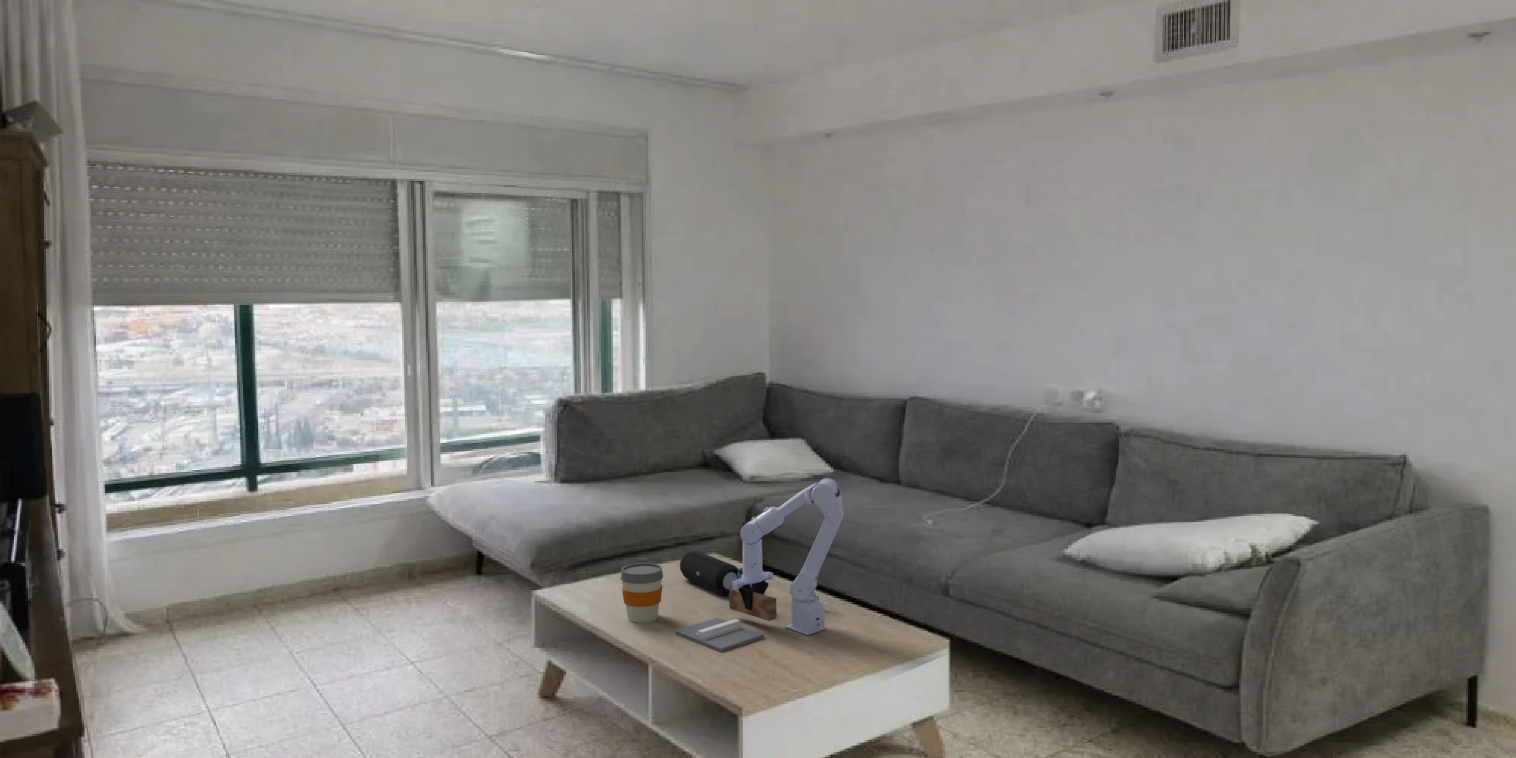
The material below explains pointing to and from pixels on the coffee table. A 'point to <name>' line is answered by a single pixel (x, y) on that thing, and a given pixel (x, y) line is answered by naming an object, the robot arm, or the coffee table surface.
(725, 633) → the ridge stand
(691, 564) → the portable speaker
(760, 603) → the walnut bar
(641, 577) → the reusable coffee cup
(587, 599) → the coffee table surface
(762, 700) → the coffee table surface
